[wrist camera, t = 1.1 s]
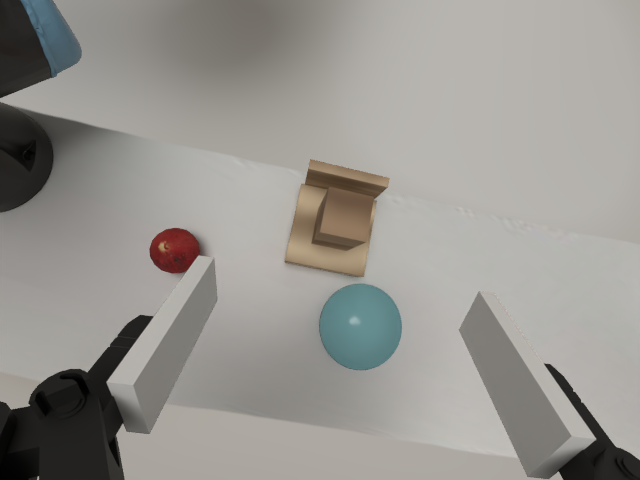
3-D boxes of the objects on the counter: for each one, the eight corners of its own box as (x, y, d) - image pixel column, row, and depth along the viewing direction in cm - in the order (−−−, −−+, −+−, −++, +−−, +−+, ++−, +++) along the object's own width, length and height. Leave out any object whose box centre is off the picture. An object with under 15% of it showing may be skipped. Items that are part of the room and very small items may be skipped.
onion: (213, 259, 42) (197, 255, 34) (177, 281, 41) (151, 282, 33) (193, 225, 42) (172, 213, 35) (156, 246, 41) (125, 238, 34)
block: (346, 250, 41) (366, 242, 31) (311, 243, 40) (320, 232, 30) (352, 216, 41) (374, 196, 32) (318, 208, 41) (329, 186, 31)
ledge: (356, 276, 44) (377, 276, 35) (284, 262, 43) (285, 257, 34) (369, 200, 46) (393, 179, 36) (301, 184, 45) (306, 158, 35)
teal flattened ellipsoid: (302, 324, 43) (302, 326, 41) (359, 267, 45) (361, 267, 43) (359, 385, 42) (361, 388, 41) (414, 325, 44) (417, 326, 43)
